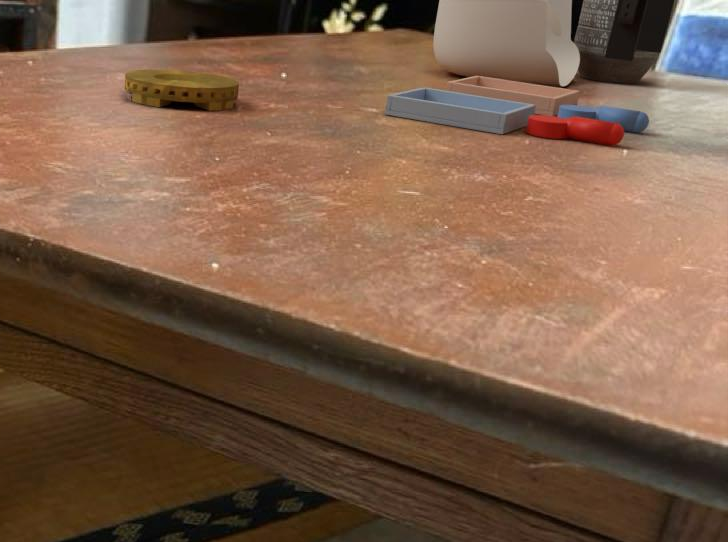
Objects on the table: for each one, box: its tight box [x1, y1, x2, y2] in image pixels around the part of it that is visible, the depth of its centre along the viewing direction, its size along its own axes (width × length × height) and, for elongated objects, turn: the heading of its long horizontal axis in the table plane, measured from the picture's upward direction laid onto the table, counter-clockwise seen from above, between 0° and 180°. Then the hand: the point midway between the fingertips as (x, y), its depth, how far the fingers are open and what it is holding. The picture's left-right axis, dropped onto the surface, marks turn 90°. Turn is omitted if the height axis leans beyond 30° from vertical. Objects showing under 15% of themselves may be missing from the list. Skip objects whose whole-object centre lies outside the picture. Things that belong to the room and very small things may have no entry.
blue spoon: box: [556, 104, 650, 134], centre depth 123 cm, size 10×4×2 cm, turn 58°
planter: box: [573, 0, 660, 85], centre depth 162 cm, size 12×12×13 cm
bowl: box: [432, 0, 580, 87], centre depth 153 cm, size 20×19×12 cm
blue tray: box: [384, 87, 536, 135], centre depth 120 cm, size 13×10×2 cm
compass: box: [124, 69, 240, 111], centre depth 117 cm, size 12×12×2 cm
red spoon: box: [525, 114, 625, 146], centre depth 114 cm, size 10×4×2 cm, turn 58°
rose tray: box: [445, 76, 581, 117], centre depth 133 cm, size 13×10×2 cm
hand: (633, 55), depth 119 cm, fingers open, 13 cm apart
